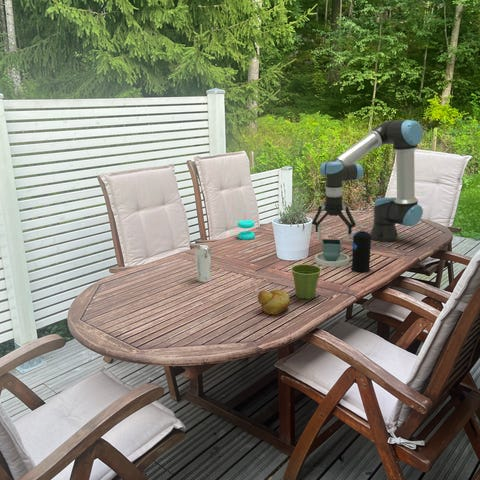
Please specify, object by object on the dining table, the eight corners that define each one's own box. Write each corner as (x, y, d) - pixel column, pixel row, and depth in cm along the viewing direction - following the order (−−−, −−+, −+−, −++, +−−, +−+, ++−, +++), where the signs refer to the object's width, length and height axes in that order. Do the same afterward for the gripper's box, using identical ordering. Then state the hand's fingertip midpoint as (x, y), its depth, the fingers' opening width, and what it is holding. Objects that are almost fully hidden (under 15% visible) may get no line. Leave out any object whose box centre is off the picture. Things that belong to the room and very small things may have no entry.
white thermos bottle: (214, 277, 195) (212, 245, 191) (208, 283, 188) (206, 249, 184) (200, 276, 197) (198, 244, 193) (193, 281, 191) (191, 248, 187)
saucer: (340, 255, 221) (341, 250, 220) (354, 265, 206) (354, 260, 205) (310, 257, 218) (310, 253, 218) (322, 268, 203) (322, 263, 203)
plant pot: (313, 304, 165) (314, 276, 162) (285, 298, 171) (285, 271, 168) (325, 293, 174) (326, 266, 171) (298, 288, 180) (298, 262, 177)
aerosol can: (371, 267, 202) (373, 225, 196) (368, 273, 195) (370, 229, 189) (353, 265, 205) (355, 224, 200) (349, 271, 198) (351, 228, 193)
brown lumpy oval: (277, 300, 169) (277, 281, 167) (298, 307, 162) (298, 287, 160) (255, 311, 160) (254, 291, 158) (275, 319, 154) (275, 298, 152)
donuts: (258, 221, 254) (245, 224, 247) (258, 237, 256) (246, 241, 250) (246, 218, 261) (233, 221, 254) (246, 234, 263) (234, 238, 257)
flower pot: (339, 256, 216) (340, 239, 214) (340, 262, 208) (341, 244, 205) (321, 256, 217) (321, 238, 215) (321, 262, 209) (322, 243, 206)
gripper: (305, 196, 205) (305, 239, 211) (360, 198, 195) (358, 243, 201) (309, 193, 212) (309, 235, 218) (362, 195, 202) (361, 239, 208)
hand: (333, 239), depth 209 cm, fingers open, 13 cm apart
